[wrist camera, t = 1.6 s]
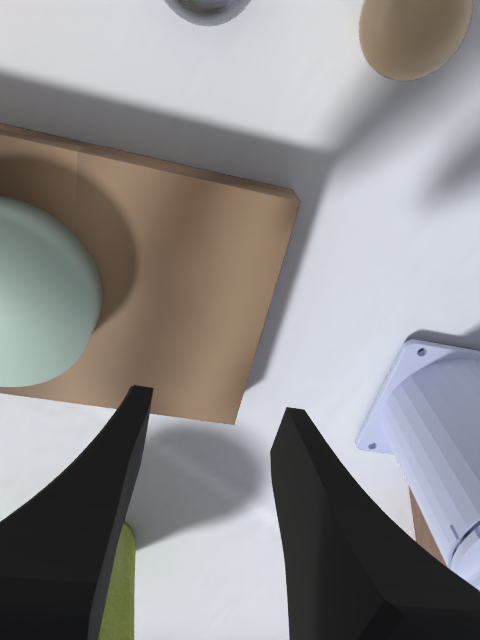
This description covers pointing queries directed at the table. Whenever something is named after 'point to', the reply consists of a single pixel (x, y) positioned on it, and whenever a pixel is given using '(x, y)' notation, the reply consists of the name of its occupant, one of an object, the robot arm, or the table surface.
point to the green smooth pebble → (43, 295)
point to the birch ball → (412, 35)
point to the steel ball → (207, 10)
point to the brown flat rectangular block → (158, 270)
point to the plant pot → (121, 592)
